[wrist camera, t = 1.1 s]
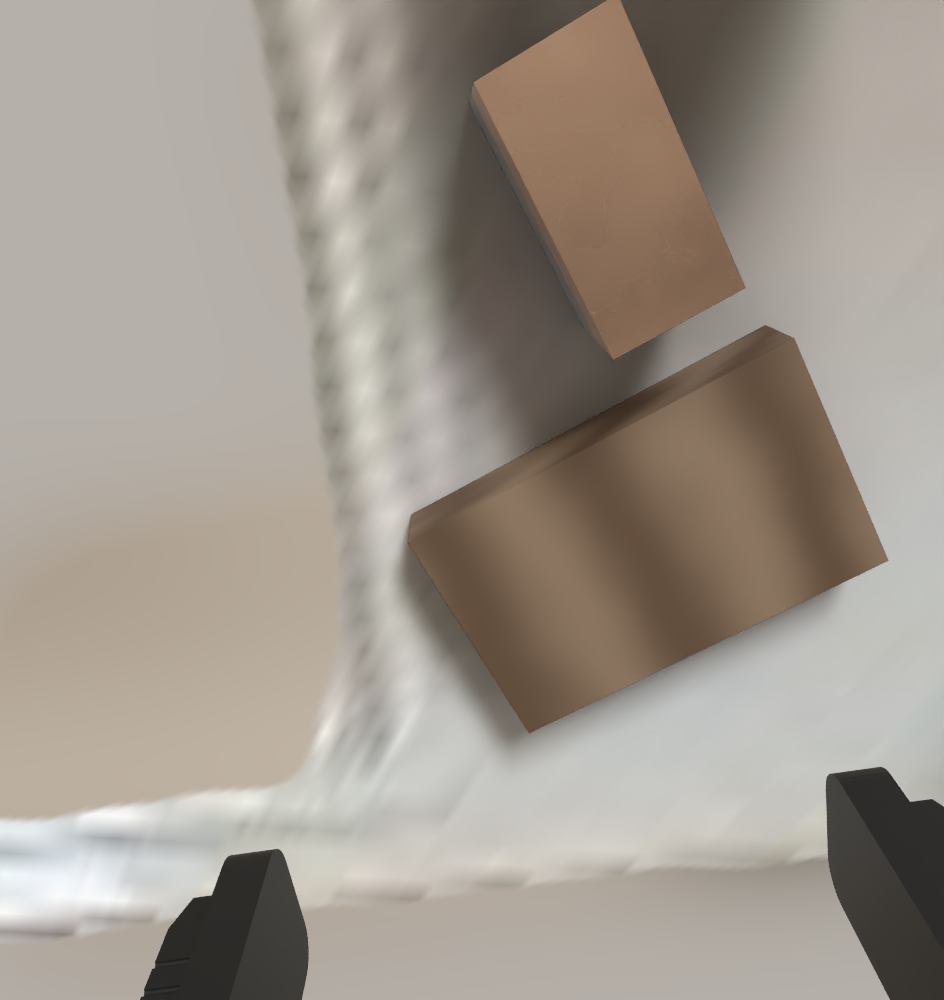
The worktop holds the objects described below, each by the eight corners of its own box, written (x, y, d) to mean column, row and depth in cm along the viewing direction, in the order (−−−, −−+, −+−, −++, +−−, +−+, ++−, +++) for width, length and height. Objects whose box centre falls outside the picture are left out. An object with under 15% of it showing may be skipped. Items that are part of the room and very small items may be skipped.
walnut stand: (765, 325, 34) (794, 338, 31) (854, 531, 37) (888, 560, 34) (411, 514, 36) (407, 542, 33) (523, 693, 39) (529, 733, 36)
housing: (581, 34, 30) (617, -7, 24) (686, 266, 33) (745, 288, 26) (468, 103, 31) (473, 82, 24) (581, 325, 34) (613, 359, 27)
